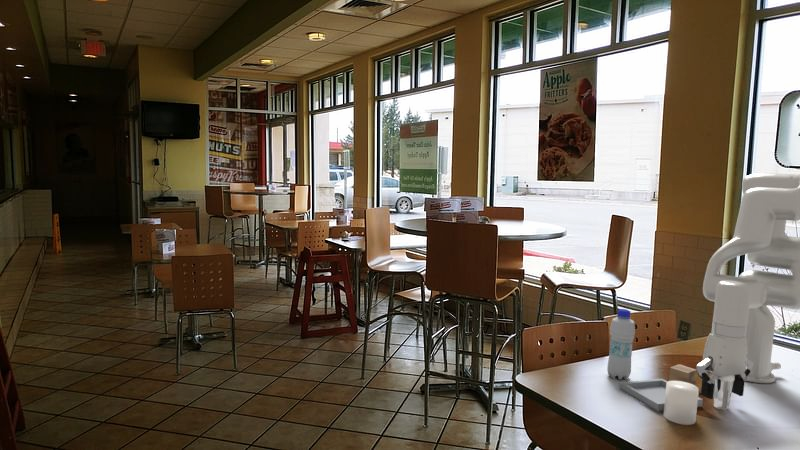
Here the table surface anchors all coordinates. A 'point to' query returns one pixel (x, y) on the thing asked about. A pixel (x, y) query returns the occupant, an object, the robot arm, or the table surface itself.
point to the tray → (649, 392)
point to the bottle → (621, 345)
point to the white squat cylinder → (681, 402)
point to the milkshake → (723, 391)
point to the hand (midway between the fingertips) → (721, 395)
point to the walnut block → (682, 374)
